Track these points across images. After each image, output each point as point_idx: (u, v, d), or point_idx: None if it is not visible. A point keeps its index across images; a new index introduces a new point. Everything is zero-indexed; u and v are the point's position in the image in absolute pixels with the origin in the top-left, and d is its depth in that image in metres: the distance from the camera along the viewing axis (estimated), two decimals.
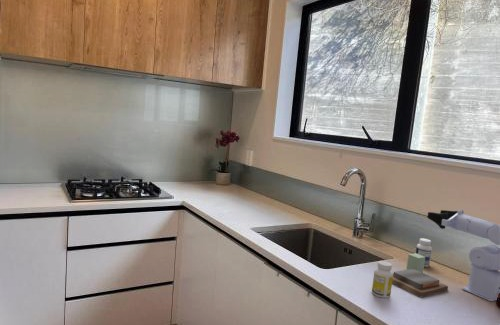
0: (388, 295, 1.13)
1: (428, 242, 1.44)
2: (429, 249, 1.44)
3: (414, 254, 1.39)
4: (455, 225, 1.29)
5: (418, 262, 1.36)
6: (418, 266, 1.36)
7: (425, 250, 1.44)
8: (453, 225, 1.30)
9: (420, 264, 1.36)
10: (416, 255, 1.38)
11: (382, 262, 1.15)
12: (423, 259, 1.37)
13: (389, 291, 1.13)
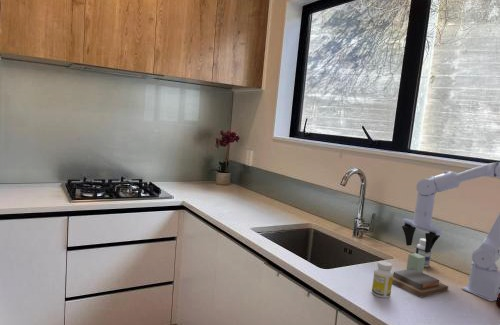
0: (388, 295, 1.13)
1: None
2: None
3: (414, 254, 1.39)
4: (430, 224, 1.35)
5: (418, 262, 1.36)
6: (418, 266, 1.36)
7: None
8: (430, 226, 1.35)
9: (420, 264, 1.36)
10: (416, 255, 1.38)
11: (382, 262, 1.15)
12: (423, 259, 1.37)
13: (389, 291, 1.13)
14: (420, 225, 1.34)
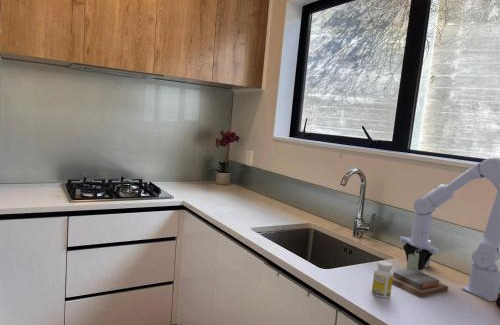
0: (388, 295, 1.13)
1: (428, 242, 1.44)
2: None
3: (414, 254, 1.39)
4: (427, 243, 1.36)
5: (418, 262, 1.36)
6: None
7: None
8: (427, 245, 1.36)
9: None
10: (416, 255, 1.38)
11: (382, 262, 1.15)
12: None
13: (389, 291, 1.13)
14: (417, 244, 1.35)
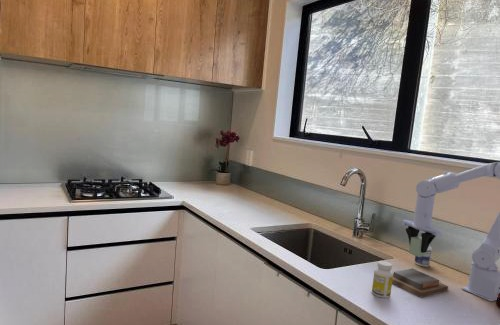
0: (388, 295, 1.13)
1: None
2: (429, 249, 1.44)
3: (417, 237, 1.38)
4: (430, 226, 1.35)
5: (421, 245, 1.35)
6: None
7: None
8: (430, 227, 1.35)
9: None
10: (419, 238, 1.38)
11: (382, 262, 1.15)
12: None
13: (389, 291, 1.13)
14: (420, 226, 1.34)
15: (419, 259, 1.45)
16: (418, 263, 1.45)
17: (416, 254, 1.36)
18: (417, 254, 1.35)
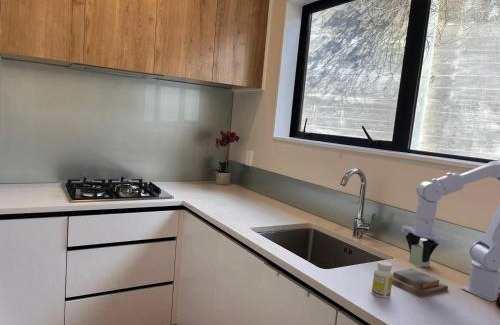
0: (388, 295, 1.13)
1: None
2: None
3: (418, 245, 1.26)
4: (432, 233, 1.22)
5: (422, 254, 1.22)
6: None
7: None
8: (433, 235, 1.22)
9: None
10: (420, 245, 1.25)
11: (382, 262, 1.15)
12: None
13: (389, 291, 1.13)
14: (421, 233, 1.21)
15: None
16: None
17: (417, 264, 1.23)
18: (418, 264, 1.23)
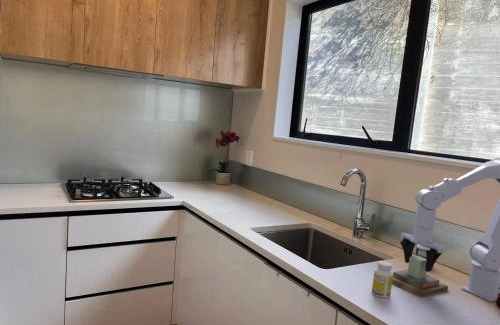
0: (388, 295, 1.13)
1: None
2: (429, 249, 1.44)
3: (416, 257, 1.26)
4: (431, 240, 1.23)
5: (420, 266, 1.23)
6: (421, 270, 1.23)
7: None
8: (431, 242, 1.23)
9: (422, 268, 1.23)
10: (418, 257, 1.25)
11: (382, 262, 1.15)
12: None
13: (389, 291, 1.13)
14: (420, 241, 1.22)
15: None
16: None
17: (415, 276, 1.24)
18: (416, 276, 1.23)
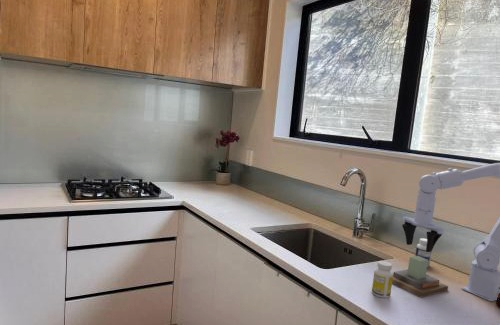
0: (388, 295, 1.13)
1: None
2: None
3: (416, 257, 1.26)
4: (431, 223, 1.29)
5: (420, 266, 1.23)
6: (421, 270, 1.23)
7: None
8: (432, 224, 1.29)
9: (422, 268, 1.23)
10: (418, 257, 1.25)
11: (382, 262, 1.15)
12: (426, 262, 1.24)
13: (389, 291, 1.13)
14: (421, 223, 1.28)
15: None
16: None
17: (415, 276, 1.24)
18: (416, 276, 1.23)
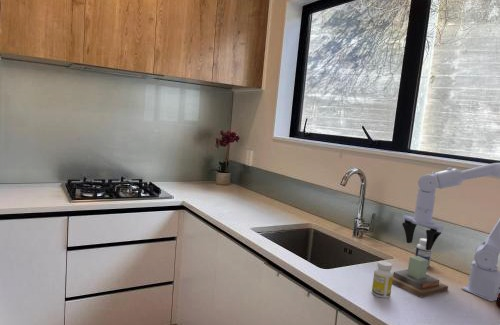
0: (388, 295, 1.13)
1: None
2: None
3: (416, 257, 1.26)
4: None
5: (420, 266, 1.23)
6: (421, 270, 1.23)
7: (426, 250, 1.44)
8: (431, 223, 1.31)
9: (422, 268, 1.23)
10: (418, 257, 1.25)
11: (382, 262, 1.15)
12: (426, 262, 1.24)
13: (389, 291, 1.13)
14: (421, 222, 1.31)
15: None
16: None
17: (415, 276, 1.24)
18: (416, 276, 1.23)
